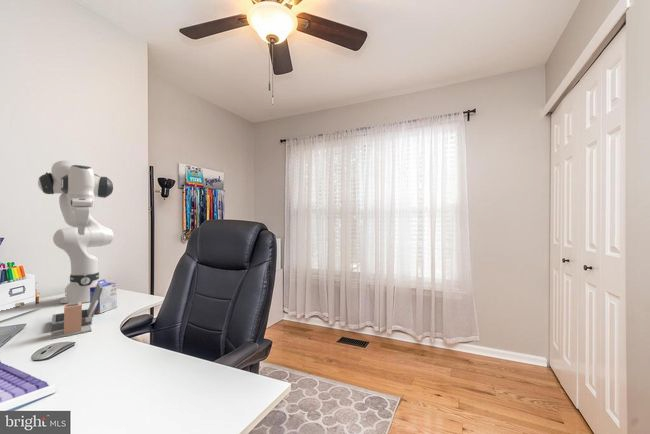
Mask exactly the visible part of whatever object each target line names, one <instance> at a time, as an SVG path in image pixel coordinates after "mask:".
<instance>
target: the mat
mask: <svg viewBox="0 0 650 434" xmlns="http://www.w3.org/2000/svg"><path fill="white" fill-rule="evenodd" d="M91 325H92V324H91ZM91 325H90V324H89V325H83V326H81V331H78V332H73V333H68V334H64V329H62V330H57V331H53V332H52V340H55V339H60V338H66V337H71V336H75V335H79V334H86V333H90V332H92V326H91Z"/></svg>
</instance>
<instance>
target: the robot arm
mask: <svg viewBox="0 0 650 434" xmlns="http://www.w3.org/2000/svg"><path fill="white" fill-rule="evenodd" d="M94 171H95V170H94V168H92V167H91V166H88V165H87V166H86V165H79V164H76V163H73V162H71V161H68V160H58V161H56V162H54V163H52V166H51V172H48V171H47V172H45V173H44V174H42V175H41V176H39V177H38V180H37V186H38V188H39V190H41V191H42V193H43V194H45V195H55V194H60V195H59V197H58V199H59V200H58V201H59V202H58V203H59V207H60V211H61V214H62V216H63V219H64V222H65V223H66V224H67V225H68V226H70V227H65V228H59V229H57V230H56V231H55V233H54V234H53V236H52V240H53V244H54V245H55V246H56V247H57V248H59V249H61V250H63V251H64V252H65V253H66V254H67V256H68V257H69V261H70V275H69V283H68V284H67V285H65V288H64V293H65V294H64V297H63V298H62V299H61V300H60V304H68V303H73V302H78V303H79V302H81V303H82V304H83V303H84V304H85V303H89V302H90V288H91V287H94V286H97V283H98V281H99V280H100V272H99V259H98V257H97V256H95V254H91V253H90V252H88V251H87V248H94V247H103V246H107V245H110V244H111V243H112V242H113V241H114V237H115V235H114V231H113V230H112V229H111V228H110V227H107V226H104V225H102V224H101V223H100V222H98V221H97V220H96V219H95V218H94V217H93V216H92V214H91V210H92V208H94V207H95V203H96V201H95V199H96V198H103V199H105V198H108V197H109V196H110V195H112V193H113V191H114V184H113V182H112V180H111V179H110V178H108V176H100V175H98V174H97V173H95V172H94ZM100 283H103V281H101V282H100Z"/></svg>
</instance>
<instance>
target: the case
mask: <svg viewBox="0 0 650 434" xmlns="http://www.w3.org/2000/svg"><path fill="white" fill-rule="evenodd" d="M102 289H103V288H102V286H101V284H100V282H98V283H97V286H96V289H95V291H94V294H93V297H92V300H91V303H89V306H88V309H87V308H86V309H82V326H83V325H89V324H90V325H93V324H92V323H93V318H94V316H95V314H96V313H95V310H96V307H97V304H98V301H99V298H100V295H101V292H102ZM51 317H52V321H51V333H53V331H57V330H62V329H64V312H61V313H56V314H52V316H51Z"/></svg>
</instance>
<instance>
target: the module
mask: <svg viewBox="0 0 650 434" xmlns="http://www.w3.org/2000/svg"><path fill="white" fill-rule="evenodd" d="M82 305H83V303H81V302H79V303H78V302H73V303H64V305H63V313H64V334H68V333H73V332H78V331H81V326H82V318H83V317H82V310H83V306H82Z"/></svg>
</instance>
